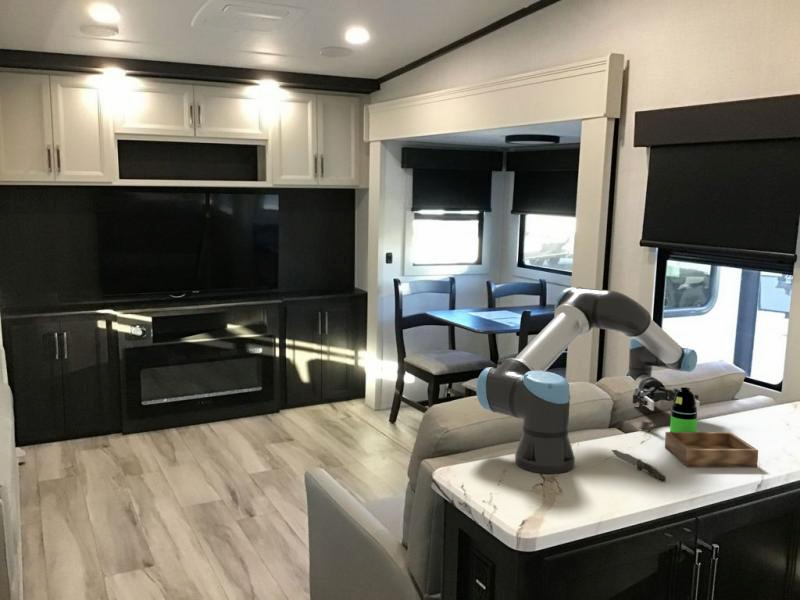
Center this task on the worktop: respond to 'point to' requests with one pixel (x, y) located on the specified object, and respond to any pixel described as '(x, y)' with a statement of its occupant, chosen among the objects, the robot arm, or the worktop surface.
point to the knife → (640, 465)
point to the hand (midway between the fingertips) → (675, 406)
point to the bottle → (684, 412)
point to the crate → (711, 449)
